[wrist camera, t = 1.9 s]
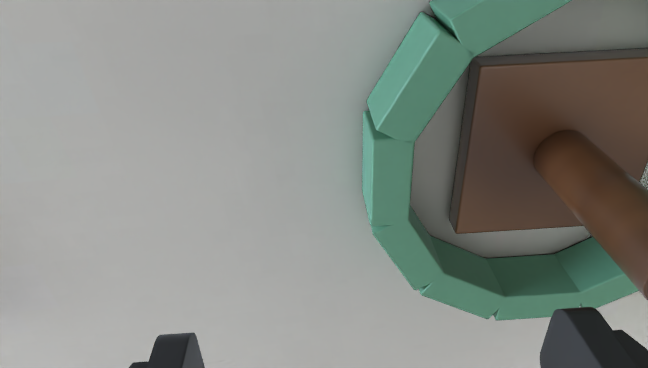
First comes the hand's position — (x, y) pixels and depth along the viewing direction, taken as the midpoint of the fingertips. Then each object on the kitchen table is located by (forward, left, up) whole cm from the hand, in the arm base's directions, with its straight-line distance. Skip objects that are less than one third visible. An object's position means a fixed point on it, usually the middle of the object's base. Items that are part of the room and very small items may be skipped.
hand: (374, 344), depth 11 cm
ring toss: (0, +8, -9) cm, 12 cm away
